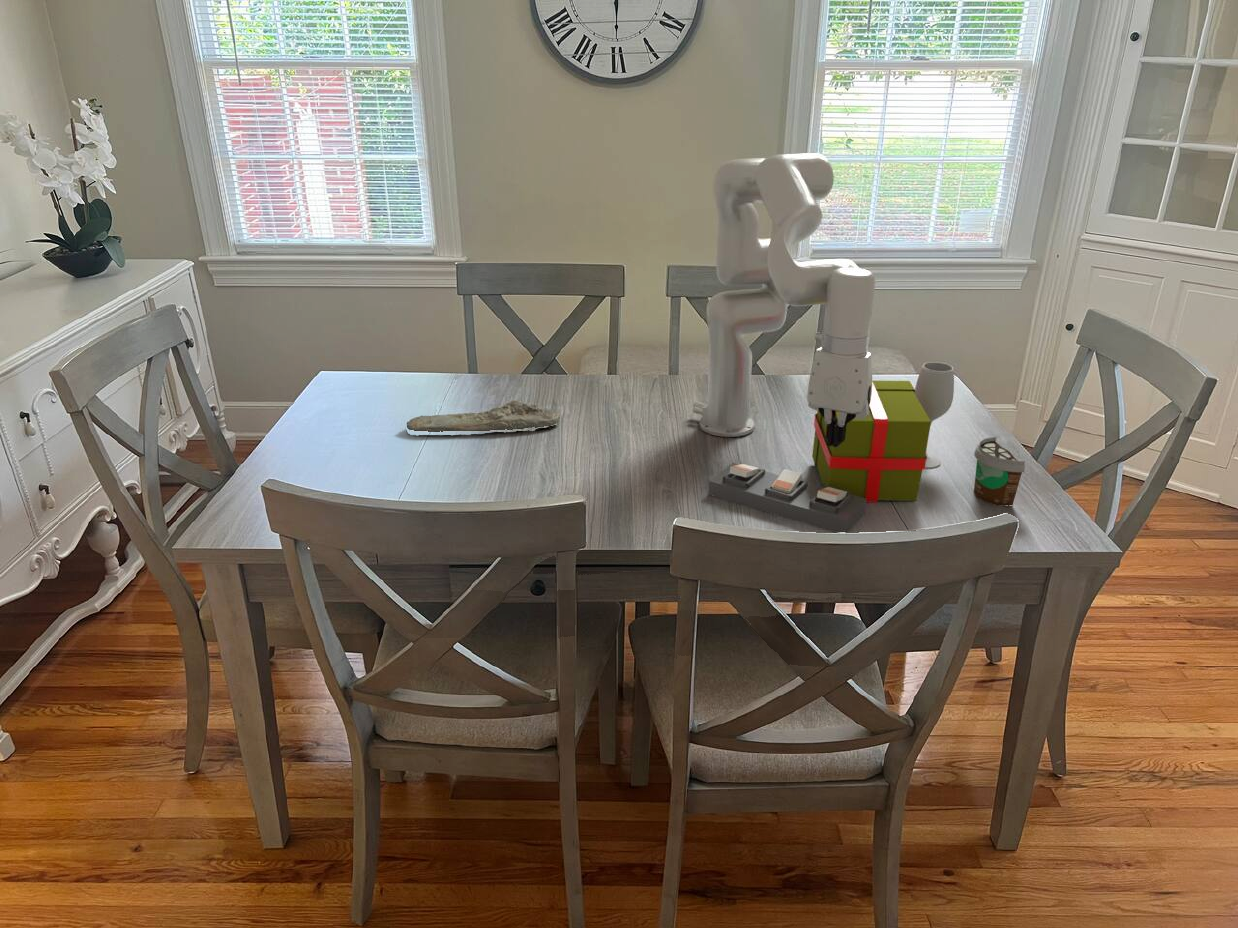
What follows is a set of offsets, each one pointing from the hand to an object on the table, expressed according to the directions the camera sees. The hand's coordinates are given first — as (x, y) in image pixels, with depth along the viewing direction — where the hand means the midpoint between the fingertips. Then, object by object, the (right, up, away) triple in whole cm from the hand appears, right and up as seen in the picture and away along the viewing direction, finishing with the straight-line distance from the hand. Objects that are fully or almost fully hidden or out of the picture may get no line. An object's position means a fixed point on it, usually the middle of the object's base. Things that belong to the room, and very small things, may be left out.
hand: (834, 443), depth 156 cm
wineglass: (+26, -3, +31) cm, 41 cm away
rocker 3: (+1, -9, +7) cm, 12 cm away
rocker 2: (-6, -7, +12) cm, 15 cm away
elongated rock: (-69, +4, +48) cm, 84 cm away
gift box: (+11, -6, +24) cm, 27 cm away
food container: (+33, -10, +17) cm, 39 cm away
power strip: (-6, -11, +14) cm, 19 cm away
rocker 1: (-14, -5, +16) cm, 22 cm away
